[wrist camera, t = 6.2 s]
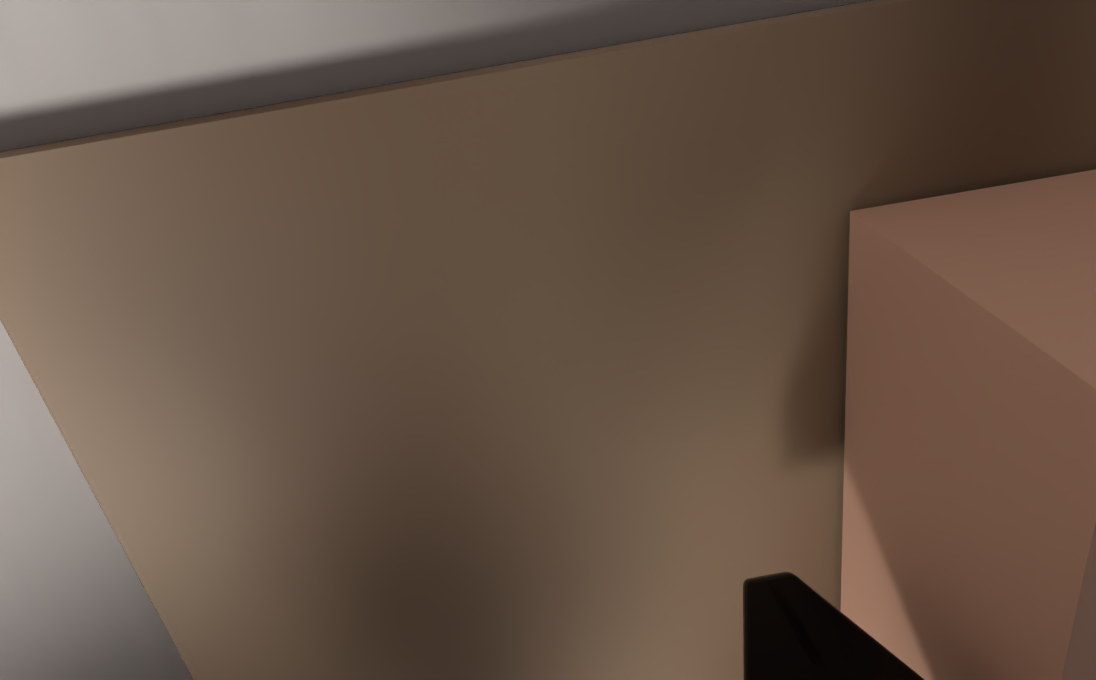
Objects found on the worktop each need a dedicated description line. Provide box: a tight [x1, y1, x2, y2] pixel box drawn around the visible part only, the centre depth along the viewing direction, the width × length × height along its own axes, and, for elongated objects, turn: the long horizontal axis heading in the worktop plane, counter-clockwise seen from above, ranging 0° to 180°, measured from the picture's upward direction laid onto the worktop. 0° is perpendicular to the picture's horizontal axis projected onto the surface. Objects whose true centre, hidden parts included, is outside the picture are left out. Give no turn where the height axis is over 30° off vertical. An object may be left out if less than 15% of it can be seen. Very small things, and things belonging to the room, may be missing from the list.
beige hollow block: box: [0, 0, 1096, 680], centre depth 8 cm, size 20×12×6 cm, turn 99°
